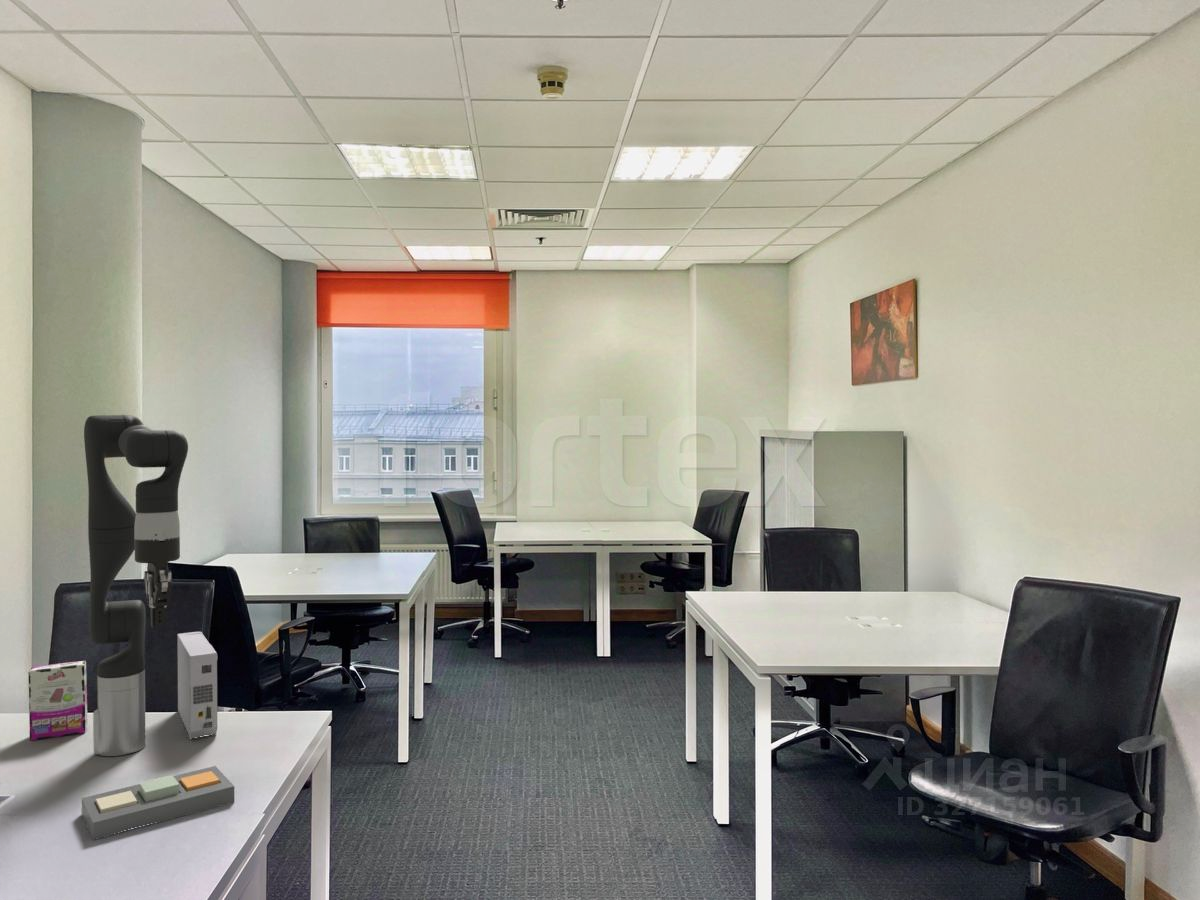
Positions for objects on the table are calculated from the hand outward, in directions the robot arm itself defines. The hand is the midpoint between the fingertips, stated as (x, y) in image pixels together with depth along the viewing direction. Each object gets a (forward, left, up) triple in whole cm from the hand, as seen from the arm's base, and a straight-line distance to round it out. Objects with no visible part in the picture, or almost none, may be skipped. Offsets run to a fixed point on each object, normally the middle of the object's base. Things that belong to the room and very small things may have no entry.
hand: (158, 627), depth 153 cm
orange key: (+6, +3, -32) cm, 33 cm away
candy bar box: (-41, +43, -34) cm, 68 cm away
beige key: (-5, -5, -32) cm, 33 cm away
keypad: (+1, -1, -34) cm, 34 cm away
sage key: (+1, -1, -31) cm, 31 cm away
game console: (-11, +47, -34) cm, 59 cm away
